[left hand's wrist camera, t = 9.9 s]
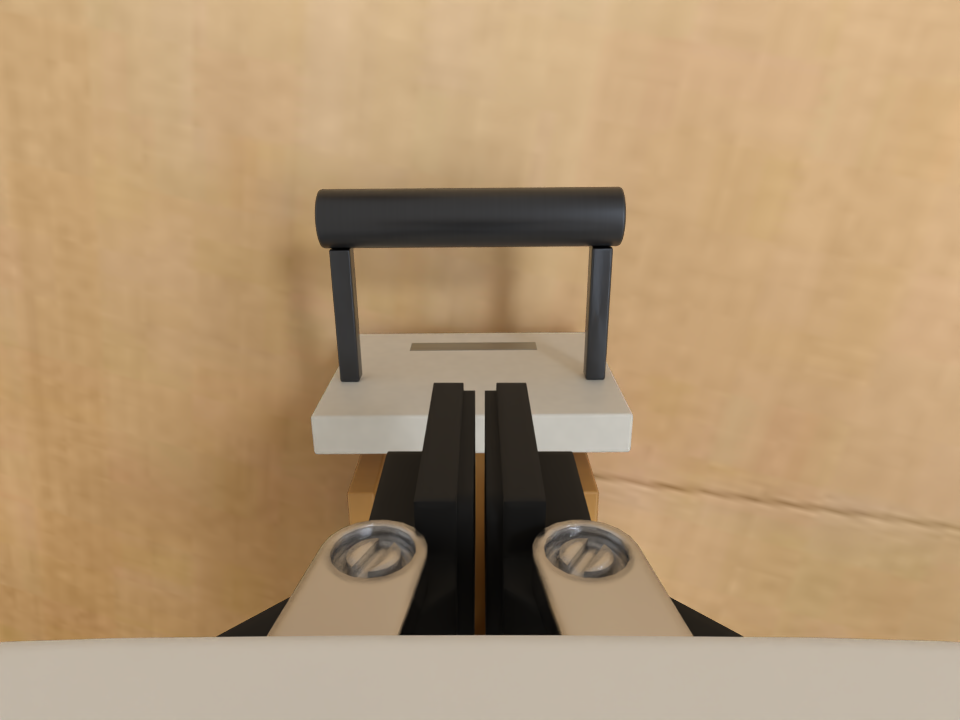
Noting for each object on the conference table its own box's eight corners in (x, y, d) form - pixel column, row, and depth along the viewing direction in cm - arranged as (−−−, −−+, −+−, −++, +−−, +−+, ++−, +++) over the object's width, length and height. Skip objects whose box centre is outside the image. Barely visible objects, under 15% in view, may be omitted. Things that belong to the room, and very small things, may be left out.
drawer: (343, 174, 23) (287, 202, 16) (600, 172, 23) (650, 199, 16) (381, 678, 31) (354, 839, 24) (574, 677, 31) (600, 837, 24)
